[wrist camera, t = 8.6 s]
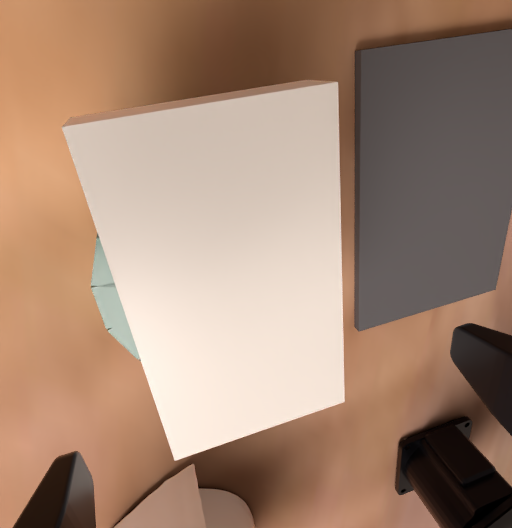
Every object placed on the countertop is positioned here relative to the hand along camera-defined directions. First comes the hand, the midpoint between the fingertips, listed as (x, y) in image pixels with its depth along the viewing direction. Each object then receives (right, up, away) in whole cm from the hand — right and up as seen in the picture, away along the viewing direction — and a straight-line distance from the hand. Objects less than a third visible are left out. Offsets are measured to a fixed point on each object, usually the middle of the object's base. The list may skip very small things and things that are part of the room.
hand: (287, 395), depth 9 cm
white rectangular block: (-2, +3, +5) cm, 6 cm away
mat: (+9, +7, +13) cm, 17 cm away
